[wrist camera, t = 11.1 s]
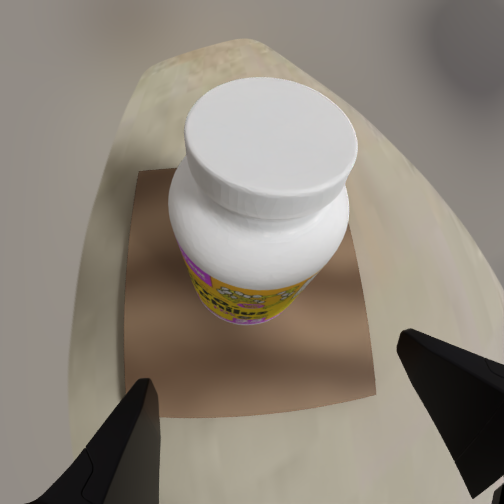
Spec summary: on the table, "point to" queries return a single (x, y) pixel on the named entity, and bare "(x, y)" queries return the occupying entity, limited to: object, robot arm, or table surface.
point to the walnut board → (237, 330)
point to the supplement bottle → (260, 194)
